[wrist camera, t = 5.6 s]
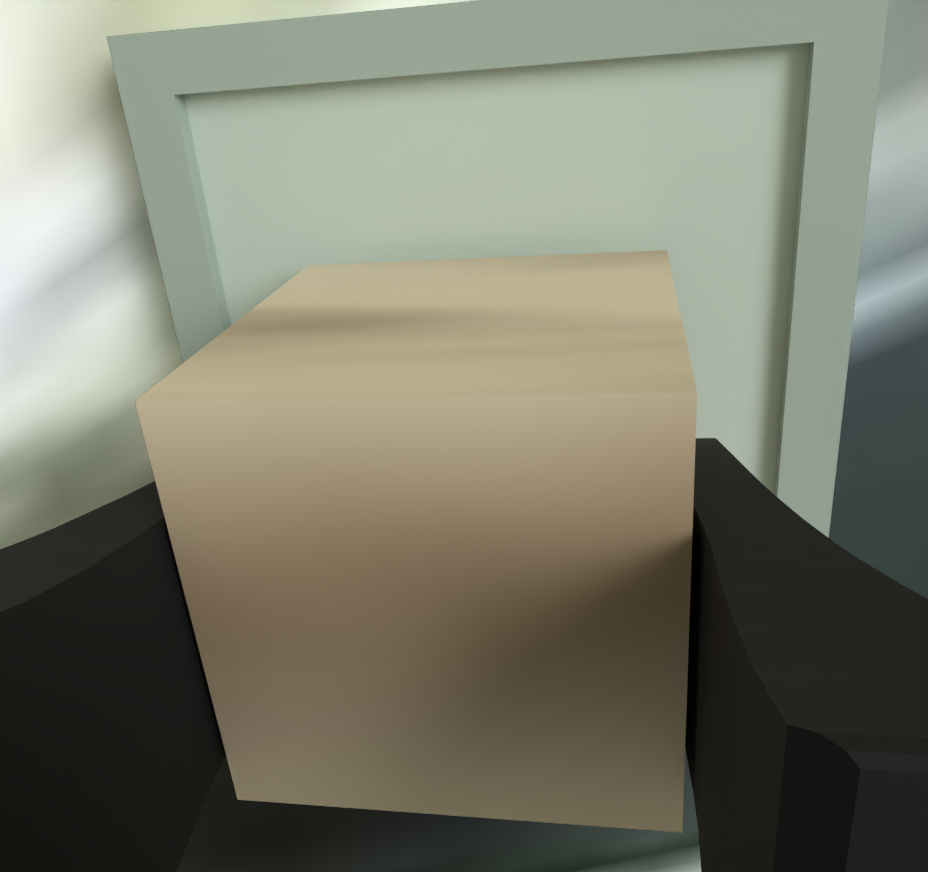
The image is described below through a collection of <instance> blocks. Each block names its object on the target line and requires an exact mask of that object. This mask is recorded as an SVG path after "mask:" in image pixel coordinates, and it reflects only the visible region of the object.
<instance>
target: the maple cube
mask: <svg viewBox="0 0 928 872" xmlns="http://www.w3.org/2000/svg"><path fill="white" fill-rule="evenodd" d="M135 405H136V408H137V412H138V416H139V420H140V424H141V428H142V432H143V436H144V439H145V443H146V447H147V451H148V455H149V459H150V463H151V466H152V470H153V474H154V478H155V482H156V486H157V490H158V493H159V497H160V501H161V505H162V509H163V513H164V517H165V521H166V524H167V528H168V532H169V536H170V540H171V544H172V548H173V551H174V555H175V559H176V563H177V567H178V571H179V575H180V578H181V582H182V586H183V590H184V594H185V598H186V602H187V606H188V609H189V613H190V617H191V621H192V625H193V629H194V633H195V636H196V640H197V644H198V648H199V652H200V656H201V660H202V664H203V667H204V671H205V675H206V679H207V683H208V687H209V691H210V694H211V698H212V702H213V706H214V710H215V714H216V718H217V721H218V725H219V729H220V733H221V737H222V741H223V745H224V749H225V752H226V756H227V760H228V764H229V768H230V772H231V776H232V779H233V783H234V787H235V791H236V795H237V799H238V800H251V801H264V802H278V803H291V804H305V805H318V806H332V807H345V808H359V809H372V810H386V811H399V812H413V813H426V814H440V815H453V816H467V817H480V818H494V819H507V820H521V821H534V822H548V823H561V824H575V825H589V826H602V827H616V828H629V829H643V830H656V831H670V832H682V827H683V797H684V768H685V738H686V709H687V679H688V650H689V621H690V591H691V562H692V532H693V503H694V473H695V444H696V414H697V390H696V385H695V380H694V376H693V371H692V366H691V361H690V357H689V352H688V347H687V343H686V338H685V333H684V328H683V324H682V319H681V314H680V309H679V305H678V300H677V295H676V291H675V286H674V281H673V276H672V272H671V267H670V262H669V258H668V253H667V250H658V251H634V252H611V253H587V254H564V255H541V256H517V257H494V258H470V259H447V260H423V261H400V262H376V263H353V264H330V265H308V266H307V267H306V268H305V269H303V270H302V271H301V272H299V273H298V274H297V275H296V276H294V277H293V278H292V279H290V280H289V281H288V282H287V283H285V284H284V285H283V286H281V287H280V288H279V289H278V290H276V291H275V292H274V293H272V294H271V295H270V296H269V297H267V298H266V299H265V300H263V301H262V302H261V303H260V304H258V305H257V306H256V307H254V308H253V309H252V310H251V311H249V312H248V313H247V314H246V315H244V316H243V317H242V318H240V319H239V320H238V321H237V322H235V323H234V324H233V325H231V326H230V327H229V328H228V329H226V330H225V331H224V332H222V333H221V334H220V335H219V336H217V337H216V338H215V339H213V340H212V341H211V342H210V343H208V344H207V345H206V346H204V347H203V348H202V349H201V350H199V351H198V352H197V353H195V354H194V355H193V356H192V357H190V358H189V359H188V360H186V361H185V362H184V363H183V364H181V365H180V366H179V367H177V368H176V369H175V370H174V371H172V372H171V373H170V374H168V375H167V376H166V377H165V378H163V379H162V380H161V381H159V382H158V383H157V384H156V385H154V386H153V387H152V388H150V389H149V390H148V391H147V392H145V393H144V394H143V395H141V396H140V397H139V398H138V399H136V400H135Z"/></svg>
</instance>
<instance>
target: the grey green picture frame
mask: <svg viewBox="0 0 928 872" xmlns="http://www.w3.org/2000/svg"><path fill="white" fill-rule="evenodd" d="M888 4H889V0H479V1H469V2H458V3H448V4H438V5H427V6H417V7H407V8H396V9H386V10H376V11H365V12H355V13H345V14H334V15H324V16H314V17H303V18H293V19H283V20H272V21H262V22H252V23H241V24H231V25H221V26H210V27H200V28H190V29H179V30H169V31H159V32H148V33H138V34H128V35H117V36H107V42H108V46H109V50H110V54H111V59H112V63H113V67H114V72H115V76H116V80H117V84H118V89H119V93H120V97H121V101H122V106H123V110H124V114H125V118H126V123H127V127H128V131H129V136H130V140H131V144H132V148H133V153H134V157H135V161H136V165H137V170H138V174H139V178H140V182H141V187H142V191H143V195H144V200H145V204H146V208H147V212H148V217H149V221H150V225H151V229H152V234H153V238H154V242H155V246H156V251H157V255H158V259H159V264H160V268H161V272H162V276H163V281H164V285H165V289H166V293H167V298H168V302H169V306H170V310H171V315H172V319H173V323H174V328H175V332H176V336H177V340H178V345H179V349H180V353H181V357H182V362H183V363H184V362H185V361H186V360H188V359H189V358H190V357H192V356H193V355H194V354H195V353H197V352H198V351H199V350H201V349H202V348H203V347H204V346H206V345H207V344H208V343H210V342H211V341H212V340H213V339H215V338H216V337H217V336H219V335H220V334H221V333H222V332H224V331H225V330H226V329H228V328H229V327H230V326H231V325H233V324H234V323H235V322H237V321H238V320H239V319H240V318H242V317H243V316H244V315H246V314H247V313H248V312H249V311H251V310H252V309H253V308H254V307H256V306H257V305H258V304H260V303H261V302H262V301H263V300H265V299H266V298H267V297H269V296H270V295H271V294H272V293H274V292H275V291H276V290H278V289H279V288H280V287H281V286H283V285H284V284H285V283H287V282H288V281H289V280H290V279H292V278H293V277H294V276H296V275H297V274H298V273H299V272H301V271H302V270H303V269H305V268H306V267H307V266H308V265H330V264H353V263H376V262H400V261H423V260H447V259H470V258H494V257H517V256H541V255H564V254H587V253H611V252H634V251H658V250H667V253H668V258H669V262H670V267H671V272H672V276H673V281H674V286H675V291H676V295H677V300H678V305H679V309H680V314H681V319H682V324H683V328H684V333H685V338H686V343H687V347H688V352H689V357H690V361H691V366H692V371H693V376H694V380H695V385H696V390H697V414H696V438H716V439H717V440H718V441H719V442H720V443H721V444H722V445H723V446H724V447H725V448H726V449H727V450H728V451H729V452H730V453H732V454H733V455H734V456H735V457H736V458H737V459H738V460H739V461H740V462H741V463H742V464H743V465H744V466H745V467H746V468H747V469H748V470H749V471H750V472H751V473H752V474H753V475H754V476H755V477H756V478H757V479H758V480H759V481H760V482H761V483H762V484H763V485H764V486H765V487H766V488H768V489H769V490H770V491H771V492H772V493H773V494H774V495H775V496H777V497H778V498H779V499H780V500H781V501H782V502H783V503H785V504H786V505H787V506H788V507H789V508H791V509H792V510H793V511H794V512H796V513H797V514H798V515H799V516H800V517H802V518H803V519H804V520H805V521H807V522H808V523H809V524H811V525H812V526H813V527H815V528H816V529H817V530H819V531H820V532H821V533H823V534H824V535H825V536H827V537H828V538H829V529H830V520H831V511H832V502H833V493H834V484H835V475H836V466H837V458H838V449H839V440H840V431H841V422H842V413H843V404H844V395H845V386H846V378H847V369H848V360H849V351H850V342H851V333H852V324H853V315H854V306H855V298H856V289H857V280H858V271H859V262H860V253H861V244H862V235H863V226H864V218H865V209H866V200H867V191H868V182H869V173H870V164H871V155H872V146H873V138H874V129H875V120H876V111H877V102H878V93H879V84H880V75H881V67H882V58H883V49H884V40H885V31H886V22H887V13H888Z"/></svg>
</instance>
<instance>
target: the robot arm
mask: <svg viewBox="0 0 928 872" xmlns="http://www.w3.org/2000/svg"><path fill="white" fill-rule="evenodd" d="M685 748H686V754H687V759H688V765H689V770H690V776H691V781H692V787H693V792H694V800H695V807H696V815H697V822H698V830H699V843H700V856H701V869H702V872H928V599H927V598H925V597H923V596H921V595H920V594H918V593H916V592H914V591H912V590H910V589H908V588H907V587H905V586H903V585H901V584H899V583H898V582H896V581H895V580H893V579H891V578H890V577H888V576H886V575H885V574H883V573H881V572H880V571H878V570H876V569H875V568H873V567H871V566H870V565H868V564H866V563H865V562H863V561H861V560H860V559H858V558H857V557H855V556H854V555H852V554H851V553H849V552H848V551H846V550H845V549H843V548H842V547H840V546H839V545H837V544H836V543H835V542H833V541H832V540H831V539H829V538H828V537H827V536H825V535H824V534H823V533H821V532H820V531H819V530H817V529H816V528H815V527H813V526H812V525H811V524H809V523H808V522H807V521H805V520H804V519H803V518H802V517H800V516H799V515H798V514H797V513H796V512H794V511H793V510H792V509H791V508H789V507H788V506H787V505H786V504H785V503H783V502H782V501H781V500H780V499H779V498H778V497H777V496H775V495H774V494H773V493H772V492H771V491H770V490H769V489H768V488H766V487H765V486H764V485H763V484H762V483H761V482H760V481H759V480H758V479H757V478H756V477H755V476H754V475H753V474H752V473H751V472H750V471H749V470H748V469H747V468H746V467H745V466H744V465H743V464H742V463H741V462H740V461H739V460H738V459H737V458H736V457H735V456H734V455H733V454H732V453H730V452H729V451H728V450H727V449H726V448H725V447H724V446H723V445H722V444H721V443H720V442H719V441H718V440H717V439H716V438H696V444H695V473H694V503H693V532H692V562H691V591H690V621H689V650H688V679H687V709H686V738H685ZM225 755H226V752H225V749H224V745H223V741H222V737H221V733H220V729H219V725H218V721H217V718H216V714H215V710H214V706H213V702H212V698H211V694H210V691H209V687H208V683H207V679H206V675H205V671H204V667H203V664H202V660H201V656H200V652H199V648H198V644H197V640H196V636H195V633H194V629H193V625H192V621H191V617H190V613H189V609H188V606H187V602H186V598H185V594H184V590H183V586H182V582H181V578H180V575H179V571H178V567H177V563H176V559H175V555H174V551H173V548H172V544H171V540H170V536H169V532H168V528H167V524H166V521H165V517H164V513H163V509H162V505H161V501H160V497H159V493H158V490H157V486H156V482H155V481H154V482H152V483H150V484H148V485H146V486H144V487H142V488H140V489H138V490H136V491H134V492H132V493H130V494H128V495H126V496H124V497H122V498H120V499H117V500H115V501H113V502H111V503H109V504H107V505H104V506H102V507H100V508H98V509H96V510H93V511H91V512H89V513H87V514H85V515H82V516H80V517H78V518H76V519H74V520H71V521H69V522H67V523H65V524H63V525H61V526H58V527H56V528H54V529H51V530H49V531H47V532H44V533H42V534H39V535H37V536H34V537H32V538H29V539H27V540H24V541H22V542H19V543H17V544H14V545H11V546H9V547H6V548H3V549H0V872H176V871H177V868H178V865H179V862H180V860H181V857H182V855H183V852H184V850H185V847H186V845H187V842H188V840H189V837H190V835H191V832H192V830H193V827H194V825H195V822H196V820H197V817H198V814H199V812H200V809H201V807H202V804H203V802H204V799H205V797H206V794H207V792H208V790H209V788H210V786H211V784H212V782H213V779H214V777H215V775H216V773H217V771H218V769H219V767H220V765H221V763H222V761H223V759H224V757H225Z"/></svg>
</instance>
